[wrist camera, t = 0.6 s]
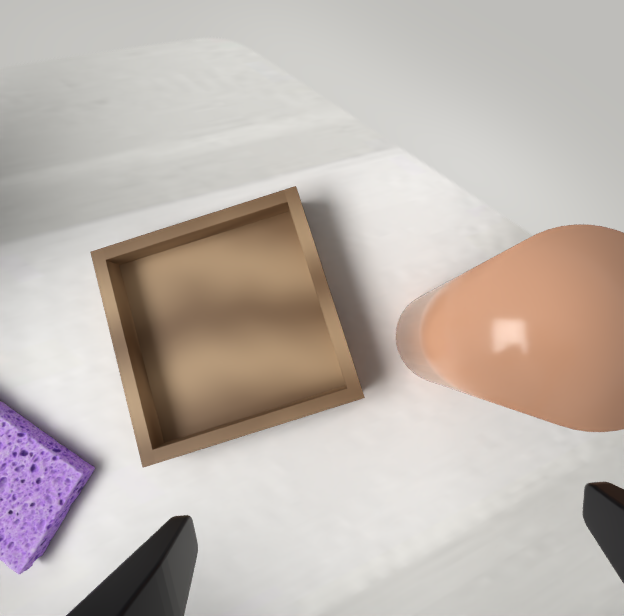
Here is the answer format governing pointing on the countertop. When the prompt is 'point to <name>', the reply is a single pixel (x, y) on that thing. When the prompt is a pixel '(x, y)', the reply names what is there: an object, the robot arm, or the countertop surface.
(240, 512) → the countertop surface
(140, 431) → the walnut tray
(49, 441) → the sponges
